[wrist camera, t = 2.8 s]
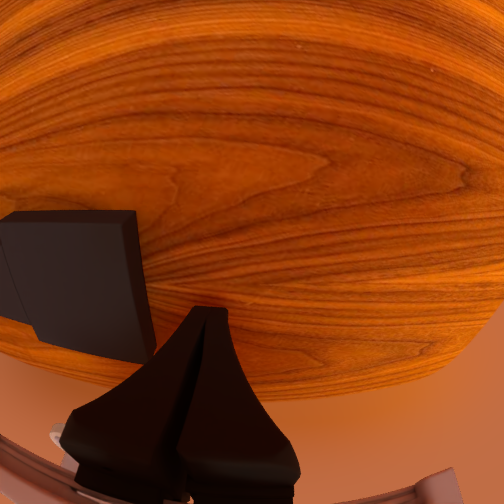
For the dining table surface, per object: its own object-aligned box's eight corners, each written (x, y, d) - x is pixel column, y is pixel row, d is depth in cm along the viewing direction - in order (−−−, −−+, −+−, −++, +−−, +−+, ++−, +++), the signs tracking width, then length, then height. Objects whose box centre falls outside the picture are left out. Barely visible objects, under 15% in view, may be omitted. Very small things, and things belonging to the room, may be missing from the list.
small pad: (157, 345, 15) (150, 366, 14) (17, 316, 15) (6, 330, 14) (136, 209, 11) (121, 224, 10) (-18, 212, 11) (-35, 222, 10)
